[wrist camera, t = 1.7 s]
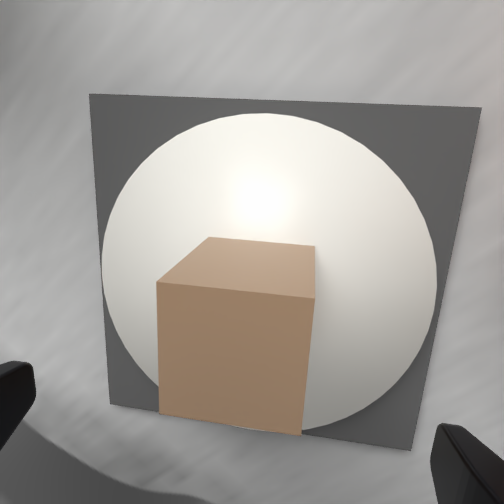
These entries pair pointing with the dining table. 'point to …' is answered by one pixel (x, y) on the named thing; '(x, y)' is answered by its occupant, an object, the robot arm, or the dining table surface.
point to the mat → (351, 124)
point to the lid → (268, 273)
